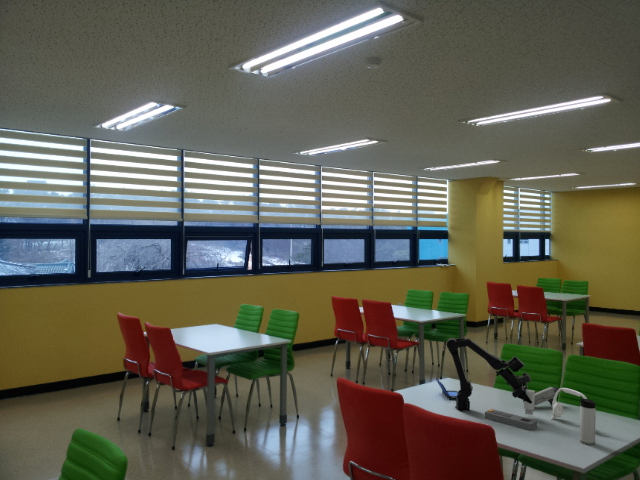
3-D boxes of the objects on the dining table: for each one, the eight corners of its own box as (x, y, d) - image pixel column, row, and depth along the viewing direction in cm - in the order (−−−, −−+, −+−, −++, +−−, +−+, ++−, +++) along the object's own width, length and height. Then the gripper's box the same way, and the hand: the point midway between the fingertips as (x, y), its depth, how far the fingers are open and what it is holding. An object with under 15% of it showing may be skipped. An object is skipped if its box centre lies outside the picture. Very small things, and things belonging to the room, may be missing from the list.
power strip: (484, 417, 259) (484, 410, 259) (491, 414, 265) (491, 407, 265) (530, 430, 242) (530, 423, 242) (536, 426, 248) (536, 419, 248)
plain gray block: (523, 414, 259) (524, 391, 259) (524, 411, 263) (525, 389, 263) (533, 415, 257) (533, 392, 257) (534, 413, 261) (534, 390, 261)
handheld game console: (464, 400, 289) (465, 384, 289) (442, 400, 289) (442, 384, 289) (456, 392, 305) (456, 377, 305) (435, 392, 304) (435, 377, 304)
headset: (594, 429, 244) (594, 393, 245) (585, 432, 241) (585, 395, 241) (557, 417, 262) (558, 383, 262) (549, 419, 258) (549, 385, 259)
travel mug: (576, 440, 231) (576, 397, 231) (589, 439, 231) (590, 397, 232) (584, 445, 224) (584, 401, 225) (598, 445, 225) (598, 401, 225)
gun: (561, 402, 284) (559, 385, 284) (528, 416, 275) (525, 399, 275) (558, 401, 287) (555, 384, 286) (525, 415, 278) (522, 398, 277)
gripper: (519, 372, 254) (542, 397, 248) (523, 365, 270) (545, 388, 265) (502, 385, 257) (525, 410, 252) (508, 377, 274) (529, 400, 268)
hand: (531, 401), depth 259 cm, fingers closed on plain gray block, 5 cm apart
